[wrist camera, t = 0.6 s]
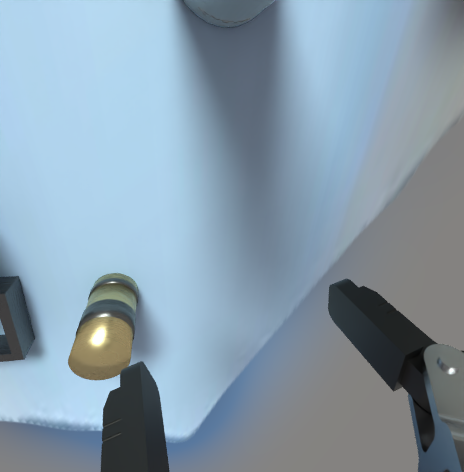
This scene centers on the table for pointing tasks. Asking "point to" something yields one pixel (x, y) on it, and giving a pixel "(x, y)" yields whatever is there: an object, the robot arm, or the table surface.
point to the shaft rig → (14, 321)
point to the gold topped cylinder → (106, 329)
